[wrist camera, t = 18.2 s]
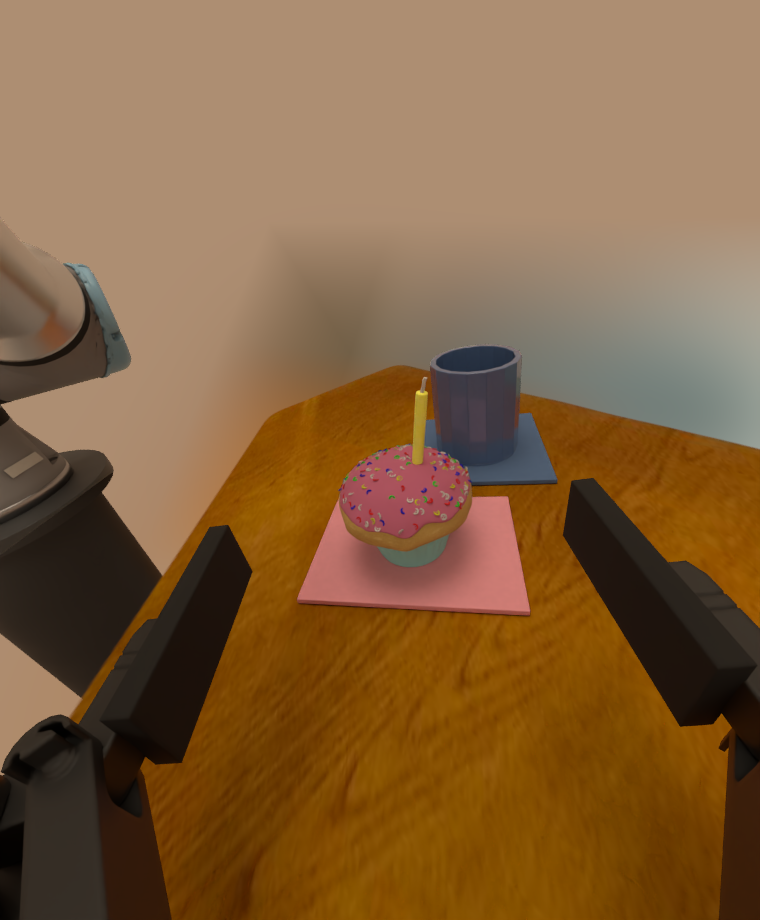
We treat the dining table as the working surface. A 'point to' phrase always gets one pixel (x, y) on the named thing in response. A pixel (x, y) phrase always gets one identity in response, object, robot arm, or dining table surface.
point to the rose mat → (425, 569)
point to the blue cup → (477, 402)
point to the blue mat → (510, 458)
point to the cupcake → (407, 497)
